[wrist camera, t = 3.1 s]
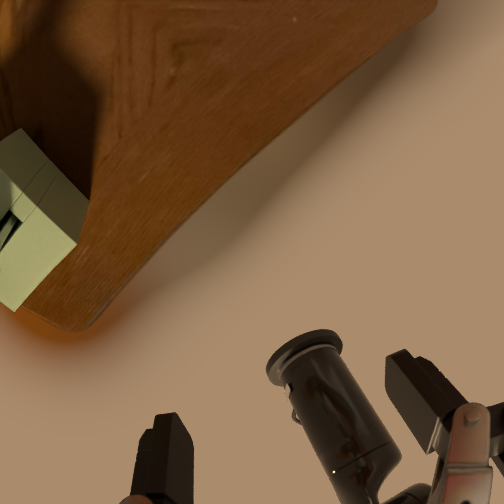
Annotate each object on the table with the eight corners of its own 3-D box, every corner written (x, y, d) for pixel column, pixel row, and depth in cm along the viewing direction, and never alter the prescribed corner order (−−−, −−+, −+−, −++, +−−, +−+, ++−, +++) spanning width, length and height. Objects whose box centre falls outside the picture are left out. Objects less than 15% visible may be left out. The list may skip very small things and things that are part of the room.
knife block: (90, 201, 21) (77, 244, 16) (31, 262, 21) (14, 312, 16) (21, 127, 15) (-15, 150, 11) (-33, 201, 16) (-66, 241, 11)
